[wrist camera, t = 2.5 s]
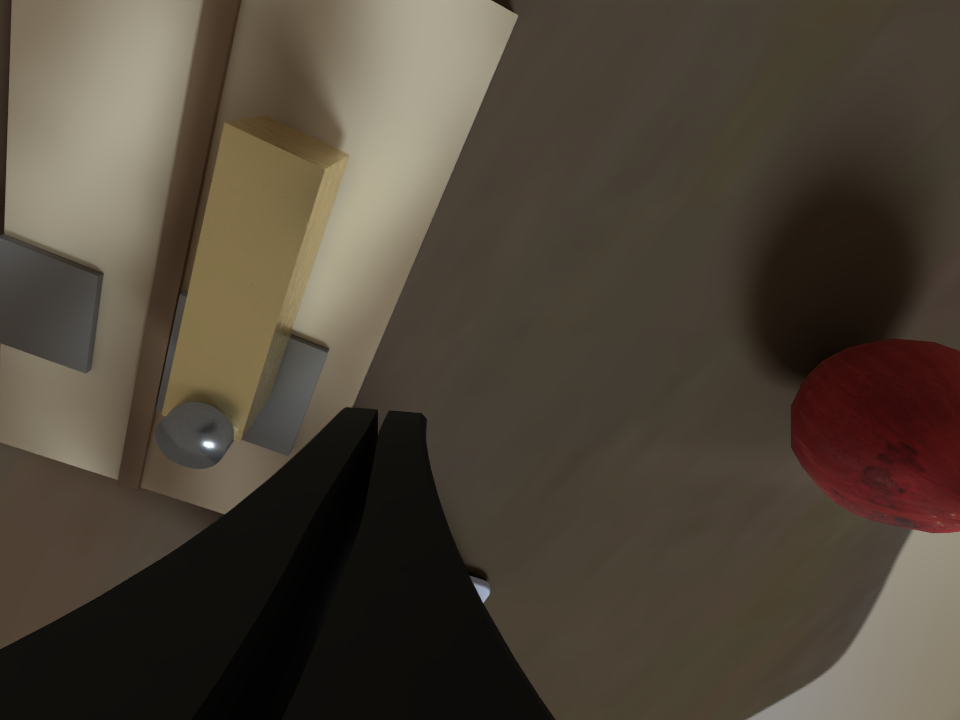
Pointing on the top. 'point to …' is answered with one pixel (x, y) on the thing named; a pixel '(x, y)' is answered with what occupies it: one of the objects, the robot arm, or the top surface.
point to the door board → (183, 199)
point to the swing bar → (246, 283)
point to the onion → (885, 432)
